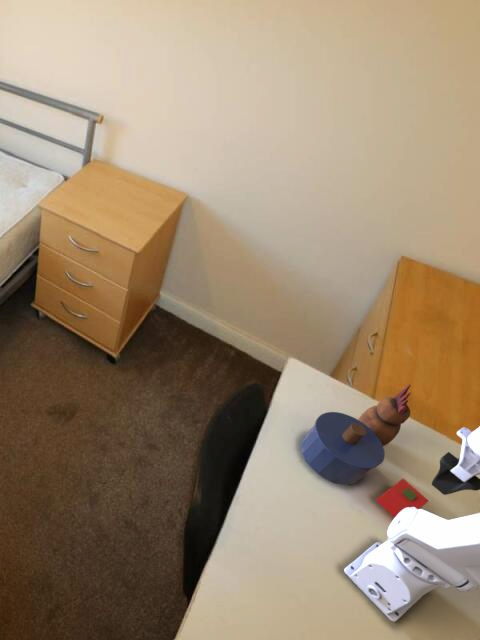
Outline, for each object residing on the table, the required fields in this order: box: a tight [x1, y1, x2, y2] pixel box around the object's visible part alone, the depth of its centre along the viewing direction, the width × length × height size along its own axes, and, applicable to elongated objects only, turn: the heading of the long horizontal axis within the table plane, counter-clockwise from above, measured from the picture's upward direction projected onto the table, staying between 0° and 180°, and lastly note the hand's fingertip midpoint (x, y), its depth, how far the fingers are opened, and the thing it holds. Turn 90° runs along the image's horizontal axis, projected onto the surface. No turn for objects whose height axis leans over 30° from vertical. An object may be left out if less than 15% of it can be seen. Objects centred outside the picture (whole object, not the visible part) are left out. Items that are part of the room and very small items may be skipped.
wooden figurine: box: [357, 384, 411, 447], centre depth 96 cm, size 7×6×15 cm
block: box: [375, 478, 430, 519], centre depth 90 cm, size 4×4×5 cm
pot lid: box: [314, 411, 386, 470], centre depth 92 cm, size 11×11×4 cm
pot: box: [300, 424, 372, 486], centre depth 95 cm, size 10×10×6 cm
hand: (451, 478), depth 85 cm, fingers open, 7 cm apart
